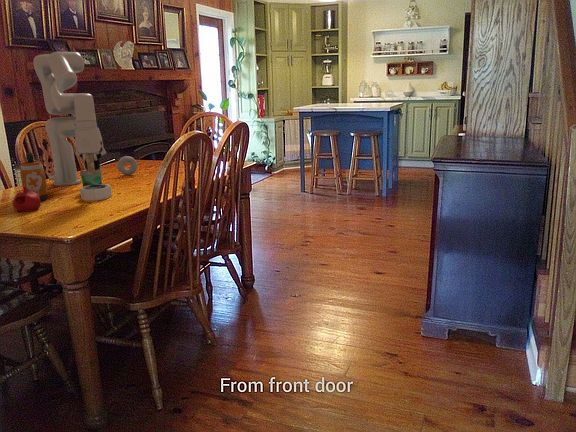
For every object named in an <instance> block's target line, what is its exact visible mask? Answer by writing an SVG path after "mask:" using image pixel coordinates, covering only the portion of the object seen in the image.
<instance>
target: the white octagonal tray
mask: <svg viewBox="0 0 576 432" xmlns="http://www.w3.org/2000/svg"><path fill="white" fill-rule="evenodd" d="M104 184H105V183H104ZM95 185H98V184H95ZM89 186H90V185H89ZM86 187H88V186H84V187H83V186H82V187H79V192H80V198H81V200H83V201H84V202H86V201H87V202H89V201H91V202H93V201H94V202H95V201H101V200H107V199H109V198H111V197H112V196H113V194H112V185H110V184H107V183H106V184H105V188H101V189H95V190H86Z"/></svg>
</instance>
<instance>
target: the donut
mask: <svg viewBox="0 0 576 432" xmlns="http://www.w3.org/2000/svg"><path fill="white" fill-rule="evenodd" d="M127 163H128V164H129V165H130V167H129V168H126V167H125V164H127ZM116 167H117V170H118V171H119V172H120V174H122V175H125V176H132V175H133V174H135V172H136V171H137V170H138V163H137V161H136V159H135V158H134V157H132V156H127V155H125V156H122V157H120V158H119V159H118V161H117V166H116Z"/></svg>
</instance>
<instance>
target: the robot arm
mask: <svg viewBox="0 0 576 432" xmlns="http://www.w3.org/2000/svg"><path fill="white" fill-rule="evenodd" d="M33 67H34V71H35V73H36V77H38V80H39V82H40V85H41V87H42V88H41V89H42V95H43V99H44V105H45V109H46V112H47V113H48V114H50V115H55V116H57V115H72V116H61V117H52V118H49V119H48V120H46V121H45V126H44V127H45V130H46V133H47V138H48V140H49V144H50V145H49V146H50V150H51V155H52V162H53V170H54V175H48V180H49V181H53V182H52V184H53V186H57V187H64V186H66V187H67V186H72V185H73V186H74V185H78V184H81V183H82V179H80V178H78V173H77V167H76V166H77V165H76V161H75V155H76V156H78V157H79V158H81V159H82V160H83V161H84V166H85V169H86V170H85V171H87V170H88V168H87V161H86V154H85V153H93V155H94V160H95V161H94V167H95V170H99V169H100V167H101V164H100V160H101V159H102V157H103V156H104V155H106V154H107V151H106V149H105V148H104V142H103V137H102V134H101V131H100V128H99V127H98V123H97V117H96V110H95V103H94V97H93V95H92V93H91V94H90V93H85V92H84V93H83V92H81V93H73V92H72V93H71V92H69V93H67V92H65V91H67V90H69V89H71V88H73V87H74V86H75V85H76V84H77V82H78V76H77V74H78V73H81V72H83V71H84V68H85V62H84V59H83V57H82V55H81V54H80V53H79V52H77V51H53V52H51V53H44V54H38V55H36V56H35V57H34V58H33ZM64 92H65V93H64ZM68 138H74V143H75V145H74V146H75V152H74V147H73V145H72V143H70V141H68V140H67V139H68Z"/></svg>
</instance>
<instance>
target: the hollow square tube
mask: <svg viewBox="0 0 576 432" xmlns="http://www.w3.org/2000/svg"><path fill="white" fill-rule="evenodd" d="M101 188H105V183H102V184H98V185H90V186H88V187H86V190H95V189H101Z"/></svg>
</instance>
